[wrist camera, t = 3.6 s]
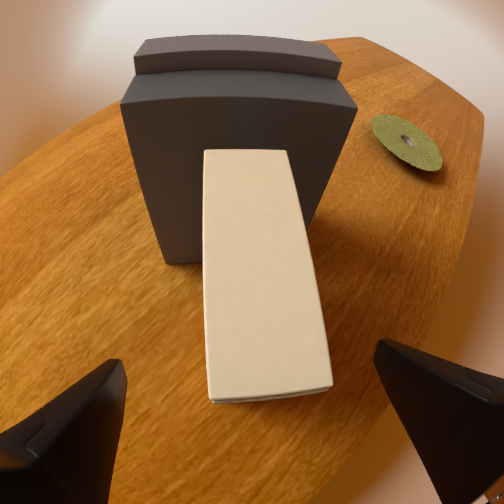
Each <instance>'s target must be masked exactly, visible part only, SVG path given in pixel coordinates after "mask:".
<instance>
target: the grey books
mask: <svg viewBox="0 0 504 504" xmlns="http://www.w3.org/2000/svg"><path fill="white" fill-rule="evenodd" d="M341 64H342V62H341V61H340V60H339V58H338V57H337V56H336V55H335V54H334V53H333V52H332V51H331V50H330V49H329V48H328V47H327V45H325V44H320V43H314V42H308V41H301V40H293V39H285V38H276V37H265V36H251V35H190V36H176V37H164V38H155V39H147V40H145V42H144V43H143V44H142V46H141V47H140V48H139V50H138V51H137V52H136V54H135V55H134V65H135V72H136V76H134V78H133V80H132V82H131V84H130V85H129V87H128V89H127V91H126V93H125V95H124V97H123V99H122V101H121V103H120V108H121V113H122V117H123V121H124V126H125V130H126V134H127V138H128V142H129V146H130V150H131V154H132V157H133V161H134V165H135V168H136V172H137V176H138V179H139V183H140V186H141V189H142V193H143V196H144V199H145V203H146V206H147V209H148V212H149V215H150V219H151V222H152V225H153V228H154V231H155V234H156V237H157V240H158V243H159V245H160V248H161V251H162V254H163V257H164V260H165V262H166V264H186V263H203V166H204V151H205V150H214V149H260V150H285V151H287V155H288V159H289V162H290V166H291V170H292V174H293V178H294V182H295V186H296V190H297V194H298V198H299V202H300V207H301V211H302V215H303V220H304V224H305V228H306V231H307V228H308V226H309V224H310V222H311V220H312V217H313V215H314V213H315V211H316V208H317V206H318V204H319V202H320V199H321V197H322V195H323V192H324V190H325V188H326V186H327V183H328V181H329V179H330V176H331V174H332V172H333V169H334V167H335V165H336V162H337V160H338V157H339V155H340V153H341V150H342V148H343V145H344V143H345V140H346V138H347V136H348V133H349V131H350V128H351V126H352V123H353V121H354V118H355V116H356V113H357V111H358V107H357V106H356V104H355V103H354V101H353V100H352V98H351V97H350V95H349V94H348V93H347V91H346V90H345V88H344V87H343V85H342V84H341V83H340V81H339V80H337V77H338V74H339V71H340V68H341Z"/></svg>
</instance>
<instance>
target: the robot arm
mask: <svg viewBox="0 0 504 504" xmlns="http://www.w3.org/2000/svg"><path fill="white" fill-rule="evenodd" d="M373 361H374V365H375V368H376V370H377V372H378V375H379V377H380V379H381V382H382V384H383V387H384V389H385V391H386V394H387V396H388V398H389V400H390V401H391V403H392V405H393V407H394V409H395V410H396V412H397V414H398V416H399V418H400V420H401V422H402V423H403V425H404V427H405V429H406V431H407V433H408V435H409V437H410V439H411V441H412V443H413V445H414V446H415V448H416V450H417V452H418V454H419V456H420V458H421V460H422V462H423V464H424V466H425V468H426V470H427V473H428V475H429V477H430V478H431V481H432V483H433V485H434V487H435V489H436V492H437V493H438V496H439V498H440V500H441V502H442V504H473V503H474V502H476V501H477V500H478V499H480V498H481V497H482V496H483V495H485V497H486V498H487V499H488V502H487V503H486V504H504V379H503V378H499V377H496V376H492V375H488V374H485V373H481V372H478V371H475V370H472V369H470V368H466V367H463V366H461V365H458V364H456V363H453V362H450V361H447V360H445V359H442V358H439V357H436V356H434V355H431V354H428V353H426V352H423V351H420V350H418V349H415V348H412V347H410V346H407V345H405V344H402V343H399V342H397V341H394V340H392V339H383V340H380V341H378V343H377V347H376V350H375V354H374V359H373ZM126 391H127V376H126V373H125V370H124V367H123V363H122V361H121V360H120V359H108V360H107V361H105V362H104V363H103V364H101V365H100V366H99V367H97V368H96V369H94V370H93V371H92V372H90V373H89V374H87V375H86V376H85V377H83V378H82V379H81V380H79V381H78V382H76V383H75V384H74V385H72V386H71V387H69V388H68V389H67V390H65V391H64V392H63V393H61V394H60V395H58V396H57V397H56V398H54V399H53V400H51V401H50V402H49V403H47V404H46V405H44V406H43V408H40V409H39V410H37V411H36V412H35V413H33V414H32V415H30V416H29V417H27V418H26V419H24V420H23V421H21V422H19V423H18V424H16V425H14V426H13V427H11V428H9V429H7V430H6V431H4V432H2V433H0V504H108V499H109V493H110V486H111V480H112V474H113V469H114V463H115V458H116V453H117V448H118V443H119V438H120V433H121V429H122V424H123V418H124V409H125V400H126Z"/></svg>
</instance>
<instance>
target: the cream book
mask: <svg viewBox="0 0 504 504" xmlns="http://www.w3.org/2000/svg"><path fill="white" fill-rule="evenodd" d="M203 298H204V326H205V347H206V365H207V380H208V394H209V399H210V400H212V403H213V404H227V403H242V402H255V401H265V400H274V399H282V398H290V397H297V396H303V395H310V394H316V393H321V392H327V391H329V387H332V386H333V384H334V383H333V375H332V368H331V362H330V355H329V349H328V342H327V336H326V330H325V324H324V319H323V313H322V307H321V302H320V296H319V291H318V286H317V281H316V276H315V271H314V266H313V261H312V256H311V251H310V247H309V242H308V237H307V233H306V228H305V224H304V220H303V215H302V211H301V207H300V202H299V198H298V194H297V190H296V186H295V182H294V178H293V174H292V170H291V166H290V162H289V159H288V155H287V151H285V150H260V149H214V150H205V151H204V166H203Z"/></svg>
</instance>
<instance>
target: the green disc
mask: <svg viewBox="0 0 504 504" xmlns="http://www.w3.org/2000/svg"><path fill="white" fill-rule="evenodd" d="M371 128H372V130H373V132H374V134H375V135H376V137H377V138H378V139H379V141H380V142H382V144H383V145H384V146H385V147H386V148H387V149H388V150H390V151H391V152H392V153H394V154H395V155H396V156H397V157H399V158H400V159H402V160H404V161H405V162H407V163H409V164H411V165H412V166H415V167H417V168H419V169H423V170H426V171H437V170H439V169H440V168H441V167H442V164H443V160H442V156H441V154H440V151H439V150H438V148H437V146H436V145H435V143H434V142H433V141H432V140H431V139H430V138H429V137H428V136H427V135H426V134H425V133H424V132H423V131H422V130H420V129H419V128H417V127H416V126H415V125H413V124H411V123H410V122H408V121H406V120H404V119H401V118H399V117H397V116H393V115H388V114H381V115H377V116H375V117H373V119H372V121H371Z"/></svg>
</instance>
